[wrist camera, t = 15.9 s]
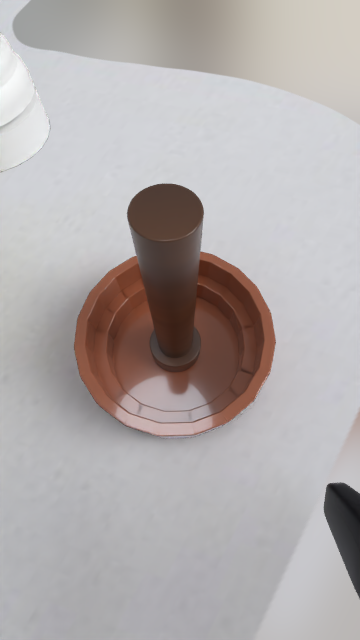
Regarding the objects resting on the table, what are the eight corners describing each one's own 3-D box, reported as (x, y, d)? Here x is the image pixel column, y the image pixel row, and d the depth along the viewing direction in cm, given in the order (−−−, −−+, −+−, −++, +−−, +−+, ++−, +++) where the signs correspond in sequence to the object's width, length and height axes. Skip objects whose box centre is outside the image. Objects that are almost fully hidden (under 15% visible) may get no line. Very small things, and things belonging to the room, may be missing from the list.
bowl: (292, 365, 22) (317, 346, 18) (157, 480, 19) (150, 489, 15) (189, 257, 26) (190, 221, 22) (65, 337, 23) (39, 313, 19)
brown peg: (199, 373, 21) (225, 259, 8) (150, 371, 21) (100, 257, 8) (199, 326, 22) (221, 170, 10) (153, 325, 22) (114, 169, 10)
